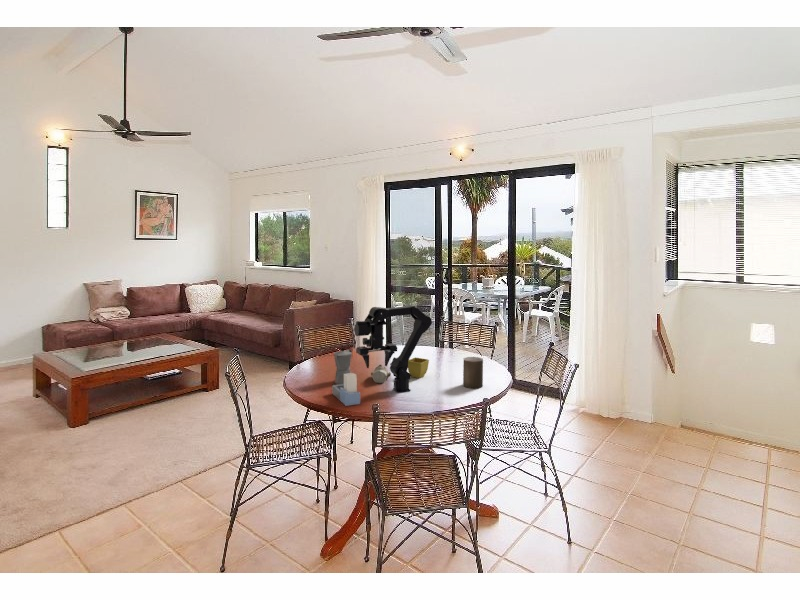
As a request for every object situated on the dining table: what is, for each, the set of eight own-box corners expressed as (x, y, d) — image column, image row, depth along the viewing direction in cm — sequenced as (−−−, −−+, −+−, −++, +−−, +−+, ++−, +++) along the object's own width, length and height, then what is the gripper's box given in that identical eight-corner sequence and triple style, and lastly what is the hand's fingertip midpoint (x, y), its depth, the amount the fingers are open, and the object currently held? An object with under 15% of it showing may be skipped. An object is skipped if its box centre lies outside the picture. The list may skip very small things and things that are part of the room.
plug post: (353, 399, 223) (353, 372, 221) (356, 402, 219) (356, 375, 217) (344, 400, 221) (343, 373, 219) (347, 403, 217) (347, 376, 215)
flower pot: (429, 375, 260) (429, 359, 259) (421, 379, 253) (421, 363, 252) (415, 373, 265) (415, 357, 264) (406, 377, 258) (406, 360, 256)
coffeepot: (345, 386, 242) (345, 351, 239) (328, 384, 245) (328, 349, 243) (359, 378, 256) (358, 344, 253) (343, 376, 259) (342, 343, 257)
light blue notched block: (353, 397, 225) (353, 385, 224) (360, 403, 217) (360, 390, 216) (339, 399, 222) (339, 387, 221) (345, 405, 214) (345, 392, 213)
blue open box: (345, 391, 234) (345, 383, 233) (354, 398, 224) (354, 390, 223) (332, 393, 231) (332, 385, 230) (340, 400, 221) (340, 392, 220)
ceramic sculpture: (368, 367, 244) (371, 361, 259) (368, 384, 245) (371, 377, 260) (389, 367, 244) (391, 361, 259) (389, 384, 244) (391, 378, 259)
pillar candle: (482, 389, 237) (483, 359, 235) (462, 388, 239) (462, 358, 237) (482, 383, 247) (483, 354, 245) (463, 382, 249) (464, 353, 247)
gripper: (387, 329, 238) (387, 361, 240) (351, 332, 230) (352, 365, 232) (397, 333, 228) (397, 366, 230) (360, 337, 220) (360, 371, 222)
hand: (376, 367), depth 228 cm, fingers open, 9 cm apart
